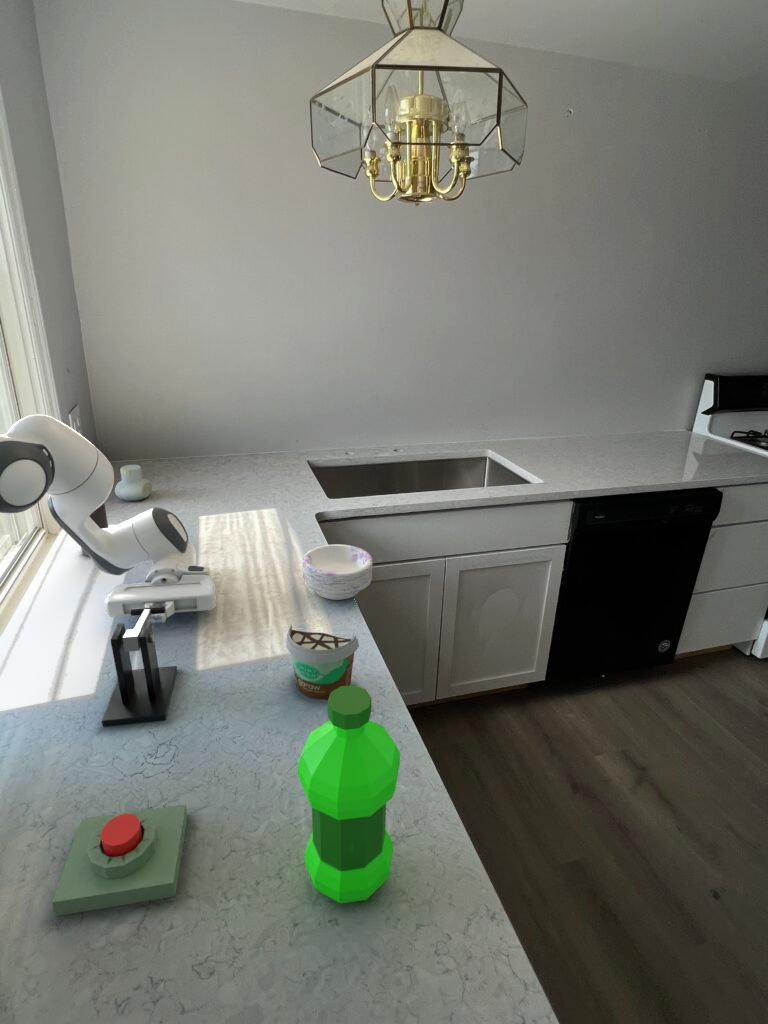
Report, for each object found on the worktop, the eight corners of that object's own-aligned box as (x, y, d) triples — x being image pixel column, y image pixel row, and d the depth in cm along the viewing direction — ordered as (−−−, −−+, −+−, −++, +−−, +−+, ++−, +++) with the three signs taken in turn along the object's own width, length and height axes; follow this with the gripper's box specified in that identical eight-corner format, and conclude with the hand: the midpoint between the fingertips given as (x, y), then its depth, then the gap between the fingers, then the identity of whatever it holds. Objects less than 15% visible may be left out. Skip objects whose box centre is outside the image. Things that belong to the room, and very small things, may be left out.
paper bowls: (385, 586, 125) (386, 554, 123) (343, 615, 114) (343, 581, 111) (332, 567, 133) (332, 537, 130) (288, 593, 122) (287, 560, 119)
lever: (133, 617, 97) (131, 604, 96) (166, 614, 98) (165, 602, 97) (112, 653, 84) (110, 638, 84) (150, 649, 85) (149, 635, 85)
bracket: (122, 676, 94) (110, 611, 90) (177, 671, 96) (168, 607, 91) (102, 727, 84) (88, 656, 79) (165, 720, 85) (155, 650, 80)
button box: (55, 916, 58) (48, 890, 57) (84, 831, 68) (78, 807, 66) (175, 896, 61) (171, 871, 59) (187, 817, 70) (184, 793, 68)
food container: (275, 696, 91) (272, 645, 87) (290, 673, 96) (288, 624, 93) (348, 710, 88) (348, 658, 84) (358, 685, 94) (359, 635, 90)
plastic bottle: (292, 915, 59) (282, 731, 50) (318, 828, 69) (314, 660, 60) (385, 932, 58) (392, 747, 48) (399, 841, 67) (407, 671, 58)
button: (98, 859, 61) (96, 848, 60) (108, 827, 64) (106, 816, 64) (137, 853, 61) (135, 842, 61) (145, 822, 65) (143, 811, 64)
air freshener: (130, 491, 179) (125, 461, 175) (155, 492, 178) (151, 462, 175) (113, 503, 168) (108, 472, 165) (140, 504, 168) (135, 473, 164)
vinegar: (75, 554, 136) (60, 476, 129) (96, 543, 142) (82, 468, 135) (98, 558, 135) (83, 480, 127) (118, 547, 141) (105, 471, 133)
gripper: (111, 573, 112) (92, 609, 99) (217, 566, 116) (211, 600, 103) (116, 600, 114) (97, 639, 101) (219, 593, 118) (214, 629, 105)
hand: (155, 619), depth 102 cm, fingers closed
